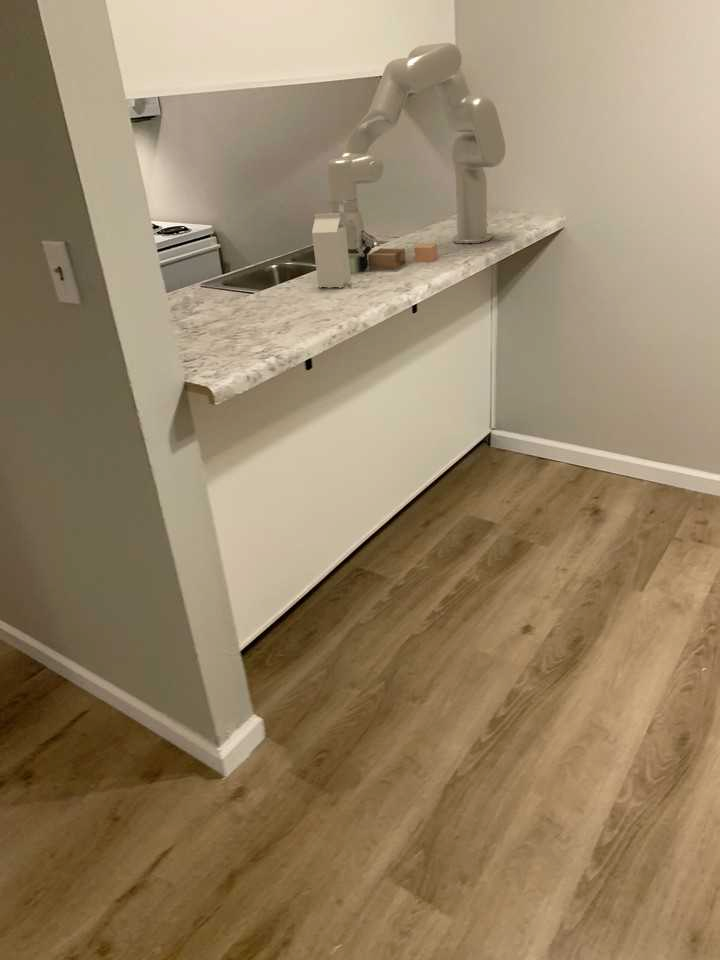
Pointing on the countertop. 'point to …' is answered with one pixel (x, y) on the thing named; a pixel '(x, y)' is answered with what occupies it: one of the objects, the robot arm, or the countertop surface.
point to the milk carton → (331, 250)
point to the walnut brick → (386, 258)
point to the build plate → (391, 270)
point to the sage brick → (354, 262)
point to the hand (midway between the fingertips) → (350, 268)
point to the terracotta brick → (426, 253)
